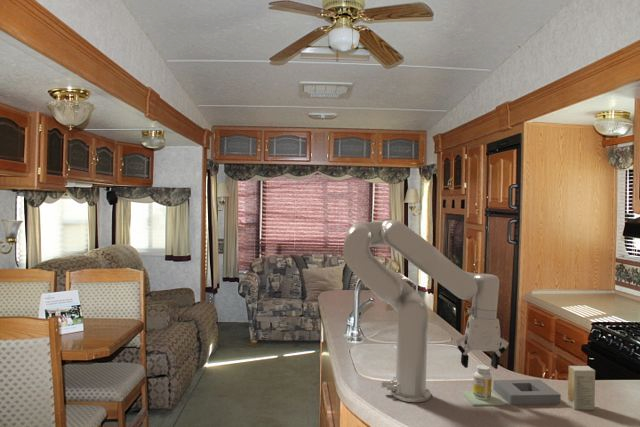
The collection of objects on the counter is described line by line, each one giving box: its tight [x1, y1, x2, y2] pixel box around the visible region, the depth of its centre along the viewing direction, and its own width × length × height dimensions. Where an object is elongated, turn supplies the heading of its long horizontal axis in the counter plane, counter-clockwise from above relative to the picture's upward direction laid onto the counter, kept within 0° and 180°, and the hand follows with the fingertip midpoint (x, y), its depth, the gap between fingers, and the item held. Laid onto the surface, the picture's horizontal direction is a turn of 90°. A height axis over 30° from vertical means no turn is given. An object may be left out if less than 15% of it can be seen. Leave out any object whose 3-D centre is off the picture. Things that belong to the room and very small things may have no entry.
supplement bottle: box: [472, 364, 493, 400], centre depth 151 cm, size 5×5×10 cm
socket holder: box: [492, 379, 562, 406], centre depth 153 cm, size 16×12×3 cm
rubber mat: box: [460, 390, 506, 407], centre depth 151 cm, size 10×10×1 cm
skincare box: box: [567, 365, 596, 411], centre depth 146 cm, size 6×4×12 cm
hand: (479, 366), depth 151 cm, fingers open, 9 cm apart
